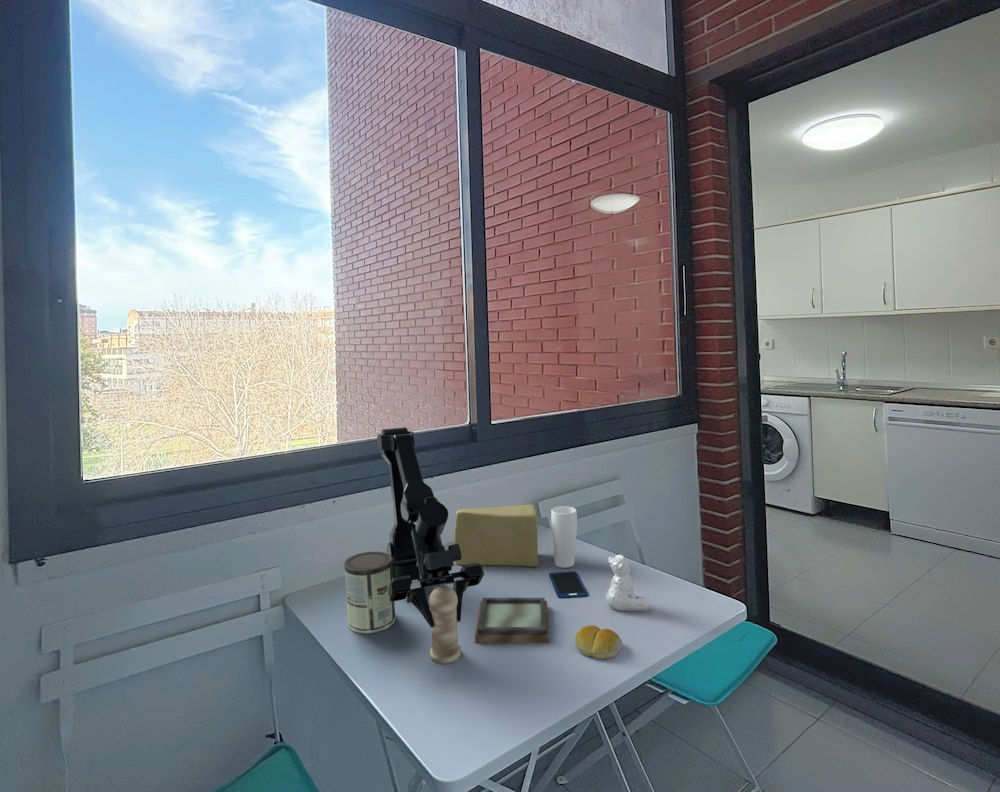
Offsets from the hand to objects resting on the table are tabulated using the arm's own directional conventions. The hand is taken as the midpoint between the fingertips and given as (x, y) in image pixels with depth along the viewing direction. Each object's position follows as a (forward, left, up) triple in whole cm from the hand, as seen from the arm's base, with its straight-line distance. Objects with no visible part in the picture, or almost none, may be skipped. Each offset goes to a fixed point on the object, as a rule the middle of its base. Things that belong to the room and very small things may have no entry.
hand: (446, 624), depth 114 cm
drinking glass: (+25, +44, -7) cm, 52 cm away
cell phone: (+25, +32, -8) cm, 42 cm away
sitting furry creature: (+37, +21, -7) cm, 44 cm away
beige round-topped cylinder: (-1, +1, -7) cm, 7 cm away
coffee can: (-19, +14, -7) cm, 25 cm away
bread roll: (+30, +4, -8) cm, 31 cm away
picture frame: (+12, +13, -7) cm, 20 cm away
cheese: (+7, +46, -7) cm, 47 cm away
